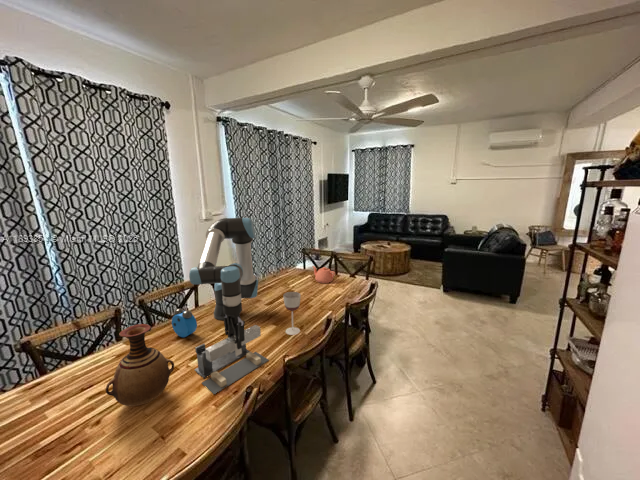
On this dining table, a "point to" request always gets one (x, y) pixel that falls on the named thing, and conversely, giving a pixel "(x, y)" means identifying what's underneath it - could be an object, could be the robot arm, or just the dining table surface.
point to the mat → (234, 373)
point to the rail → (231, 343)
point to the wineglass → (292, 308)
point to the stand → (209, 367)
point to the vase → (139, 370)
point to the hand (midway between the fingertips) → (235, 352)
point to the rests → (222, 381)
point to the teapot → (323, 275)
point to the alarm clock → (184, 323)
